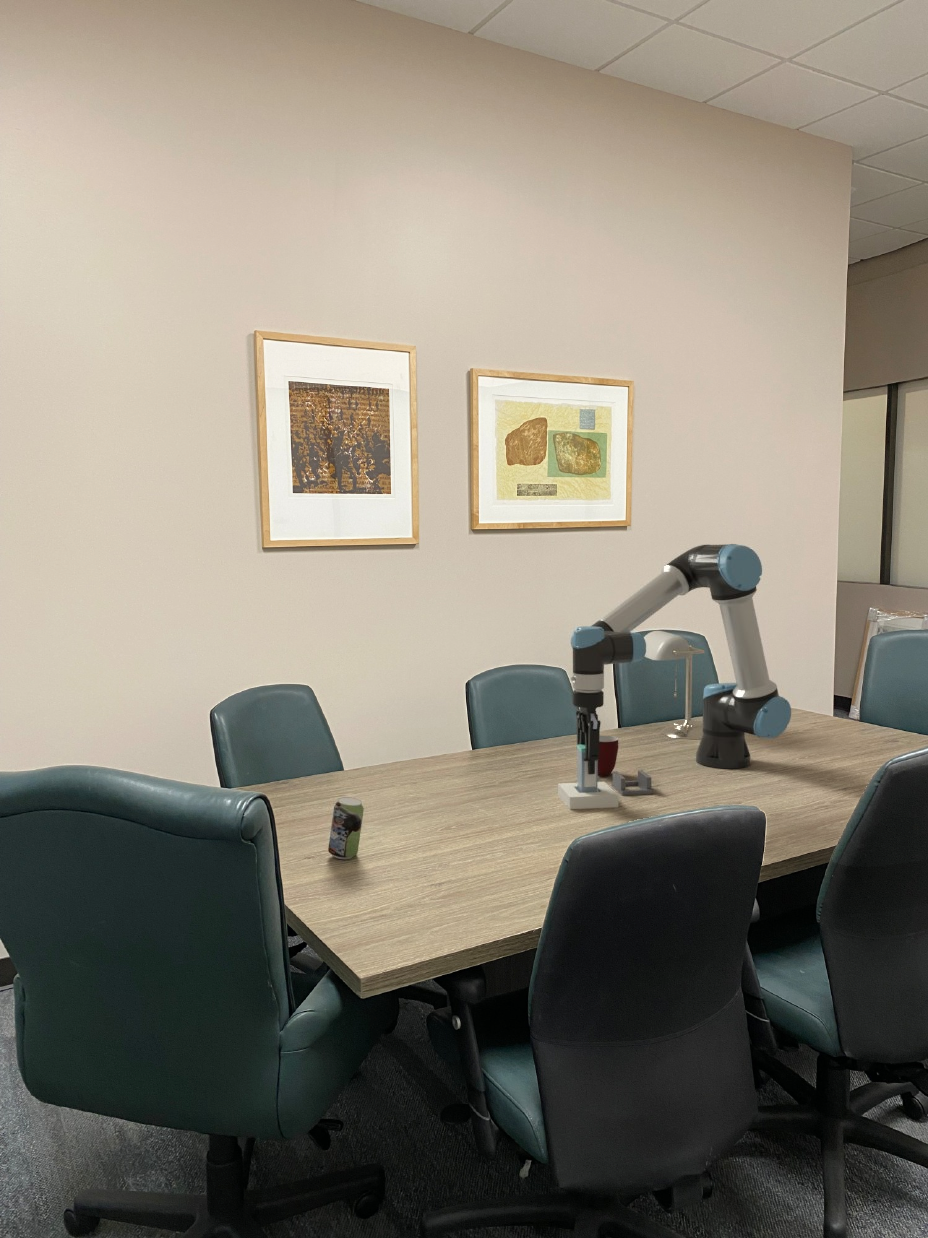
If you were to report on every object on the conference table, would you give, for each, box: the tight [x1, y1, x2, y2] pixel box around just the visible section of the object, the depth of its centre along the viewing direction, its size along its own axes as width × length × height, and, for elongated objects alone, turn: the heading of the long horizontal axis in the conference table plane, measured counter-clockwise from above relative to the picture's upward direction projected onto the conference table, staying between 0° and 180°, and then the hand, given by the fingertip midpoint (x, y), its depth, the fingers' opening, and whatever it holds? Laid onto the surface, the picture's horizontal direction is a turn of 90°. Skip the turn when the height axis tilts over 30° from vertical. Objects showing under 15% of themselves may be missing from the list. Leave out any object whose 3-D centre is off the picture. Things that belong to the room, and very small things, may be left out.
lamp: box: [643, 630, 706, 740], centre depth 290 cm, size 26×24×34 cm
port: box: [557, 781, 619, 810], centre depth 216 cm, size 12×12×3 cm
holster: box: [610, 769, 654, 796], centre depth 226 cm, size 8×9×4 cm
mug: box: [598, 735, 619, 777], centre depth 240 cm, size 10×8×10 cm
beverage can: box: [327, 796, 365, 860], centre depth 178 cm, size 6×7×12 cm
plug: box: [576, 744, 599, 793], centre depth 216 cm, size 4×4×12 cm
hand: (587, 783), depth 216 cm, fingers closed on plug, 4 cm apart
